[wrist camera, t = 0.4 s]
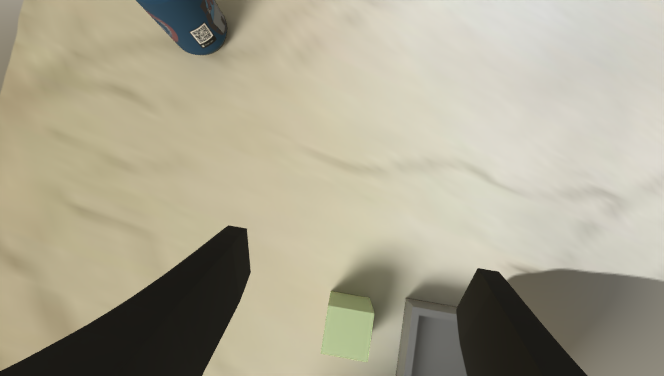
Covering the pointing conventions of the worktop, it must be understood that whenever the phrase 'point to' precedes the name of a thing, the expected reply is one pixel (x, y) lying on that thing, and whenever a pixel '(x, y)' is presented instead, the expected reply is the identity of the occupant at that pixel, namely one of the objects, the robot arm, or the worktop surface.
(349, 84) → the worktop surface
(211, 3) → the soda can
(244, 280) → the robot arm
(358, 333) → the light green block
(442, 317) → the bin
